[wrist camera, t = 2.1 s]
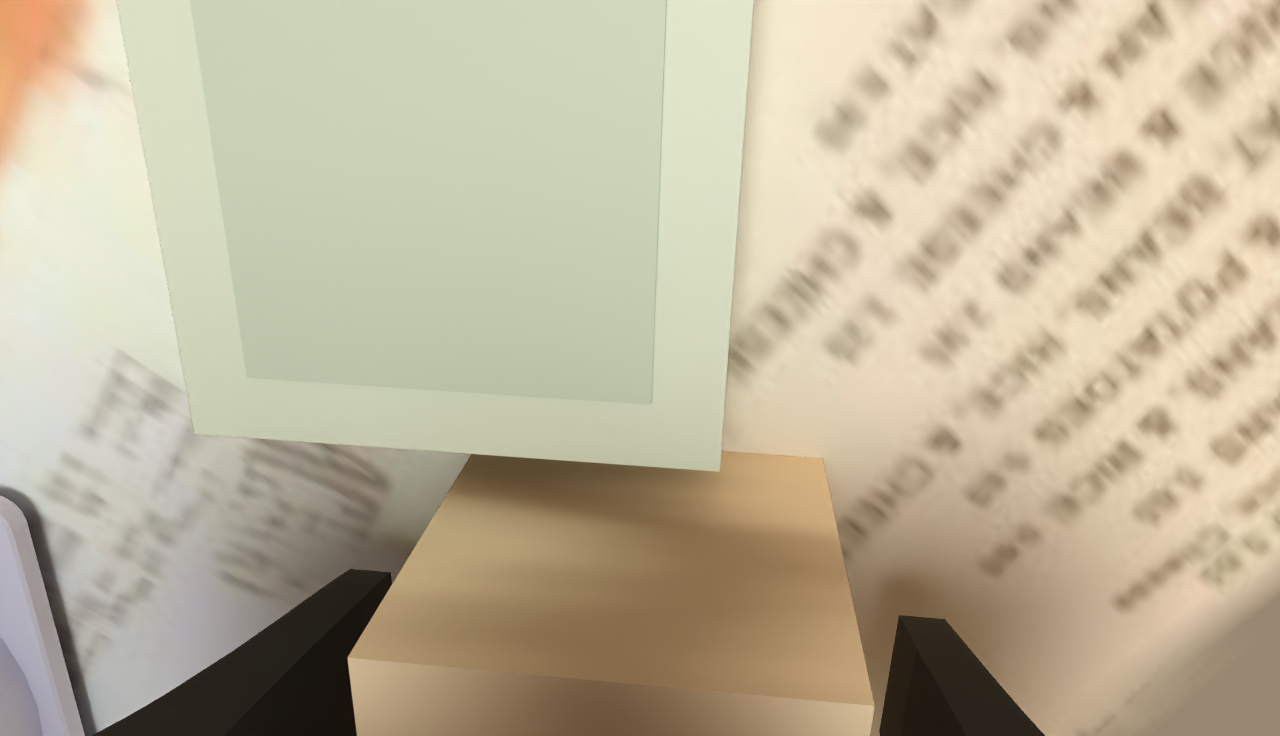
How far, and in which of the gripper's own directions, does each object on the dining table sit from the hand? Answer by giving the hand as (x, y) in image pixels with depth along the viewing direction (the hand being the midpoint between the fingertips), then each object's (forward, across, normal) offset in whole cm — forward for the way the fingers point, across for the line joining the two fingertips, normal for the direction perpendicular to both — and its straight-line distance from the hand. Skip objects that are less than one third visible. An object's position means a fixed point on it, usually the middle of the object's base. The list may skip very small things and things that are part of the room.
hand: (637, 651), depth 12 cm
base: (+1, +2, -6) cm, 7 cm away
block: (+2, 0, 0) cm, 2 cm away
